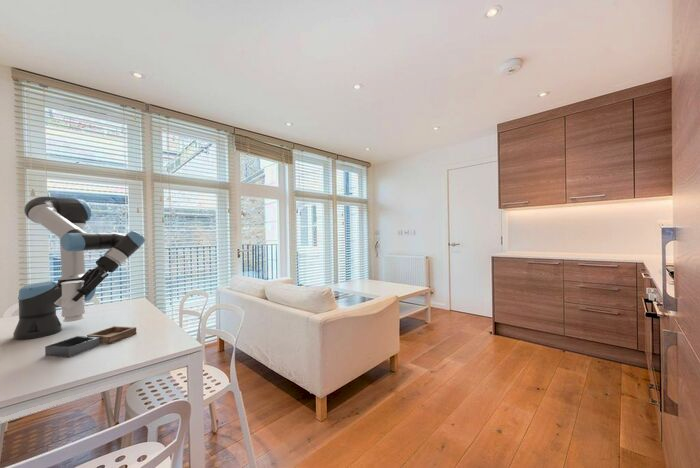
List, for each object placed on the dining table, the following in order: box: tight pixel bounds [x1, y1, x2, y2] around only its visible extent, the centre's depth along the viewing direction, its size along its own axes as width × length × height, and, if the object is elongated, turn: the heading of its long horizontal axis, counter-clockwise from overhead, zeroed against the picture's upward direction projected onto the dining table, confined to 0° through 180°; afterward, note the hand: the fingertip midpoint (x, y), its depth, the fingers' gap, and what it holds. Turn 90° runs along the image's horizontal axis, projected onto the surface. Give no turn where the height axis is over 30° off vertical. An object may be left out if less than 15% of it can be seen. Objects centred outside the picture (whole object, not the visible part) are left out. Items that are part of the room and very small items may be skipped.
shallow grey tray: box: [44, 335, 100, 359], centre depth 113 cm, size 11×11×4 cm
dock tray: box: [86, 325, 137, 345], centre depth 127 cm, size 12×12×3 cm
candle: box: [60, 281, 86, 323], centre depth 113 cm, size 7×7×15 cm
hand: (61, 306), depth 110 cm, fingers closed on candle, 7 cm apart
